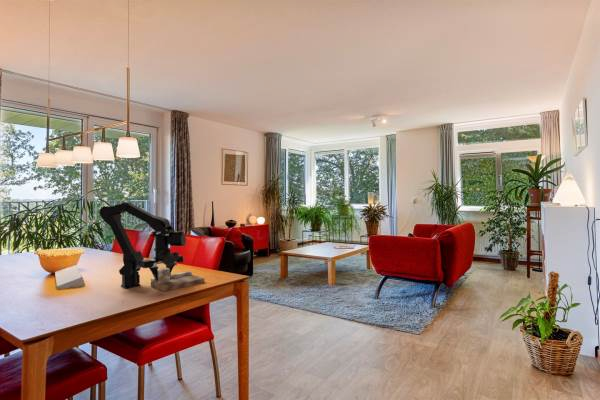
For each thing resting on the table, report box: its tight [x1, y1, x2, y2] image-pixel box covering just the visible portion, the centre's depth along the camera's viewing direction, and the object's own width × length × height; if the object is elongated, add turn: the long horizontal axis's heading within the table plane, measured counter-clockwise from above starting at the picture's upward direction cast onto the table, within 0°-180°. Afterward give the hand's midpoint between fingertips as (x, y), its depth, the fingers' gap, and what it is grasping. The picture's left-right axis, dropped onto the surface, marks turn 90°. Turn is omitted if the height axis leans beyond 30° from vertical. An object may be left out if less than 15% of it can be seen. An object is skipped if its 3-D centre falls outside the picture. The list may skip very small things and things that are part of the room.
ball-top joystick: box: [155, 267, 172, 284], centre depth 153 cm, size 5×9×6 cm, turn 49°
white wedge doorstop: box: [54, 264, 86, 290], centre depth 167 cm, size 34×5×10 cm
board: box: [150, 270, 205, 293], centre depth 158 cm, size 20×13×4 cm, turn 139°
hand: (162, 279), depth 154 cm, fingers closed on ball-top joystick, 5 cm apart
